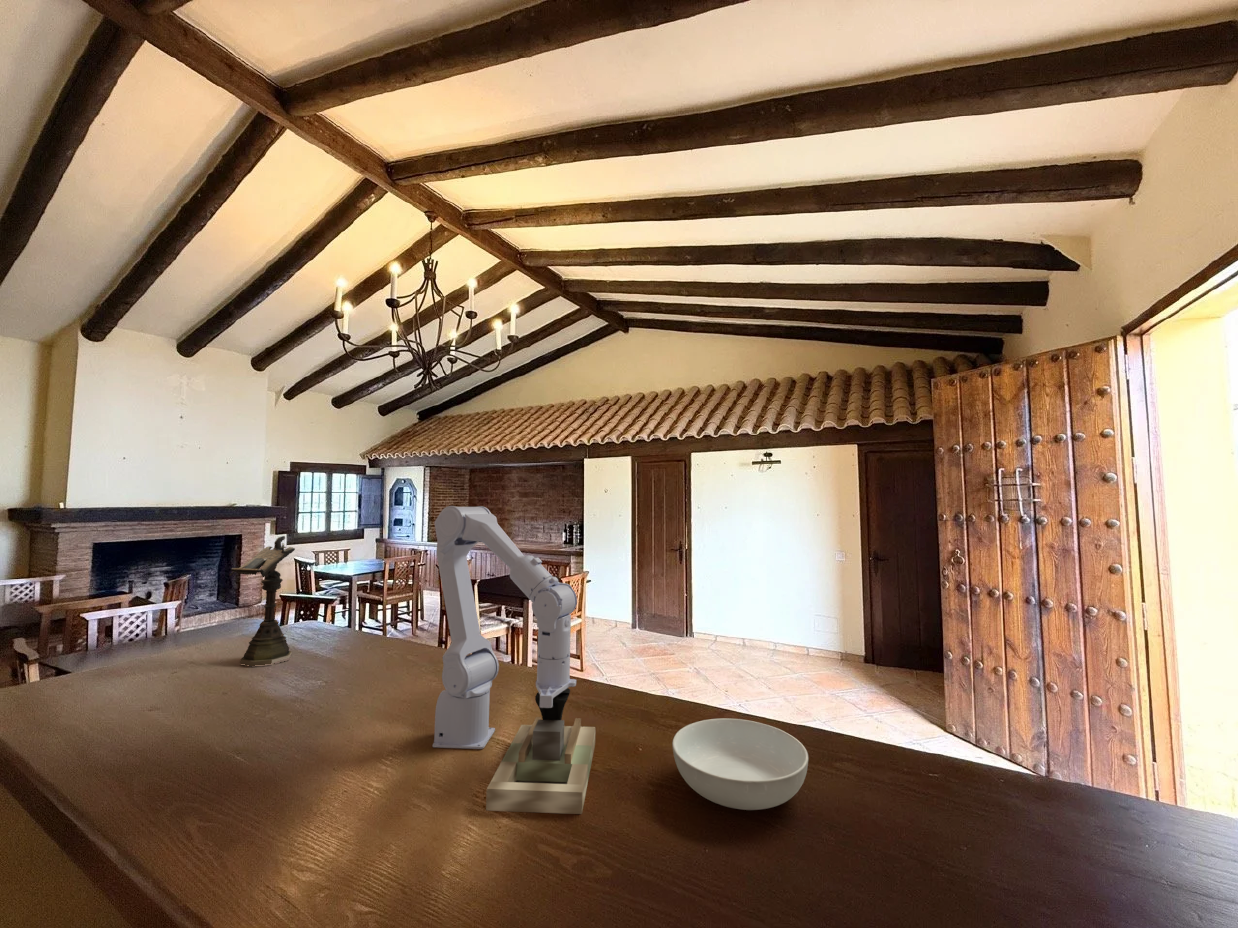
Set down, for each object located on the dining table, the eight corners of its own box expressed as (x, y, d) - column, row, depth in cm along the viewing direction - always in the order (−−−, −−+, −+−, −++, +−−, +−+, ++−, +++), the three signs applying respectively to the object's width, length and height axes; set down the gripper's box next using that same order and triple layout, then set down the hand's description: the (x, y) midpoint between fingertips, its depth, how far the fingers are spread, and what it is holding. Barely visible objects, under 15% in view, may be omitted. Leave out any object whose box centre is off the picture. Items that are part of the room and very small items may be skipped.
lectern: (245, 675, 131) (255, 537, 133) (211, 669, 135) (221, 536, 138) (305, 657, 146) (312, 534, 149) (272, 652, 150) (280, 533, 153)
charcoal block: (532, 759, 83) (533, 730, 84) (537, 746, 88) (538, 719, 88) (559, 760, 83) (560, 731, 84) (563, 747, 88) (564, 720, 88)
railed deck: (486, 810, 74) (487, 777, 75) (521, 741, 96) (521, 716, 97) (581, 813, 74) (582, 781, 74) (595, 743, 96) (595, 718, 96)
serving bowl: (668, 756, 91) (668, 716, 92) (786, 759, 91) (785, 719, 91) (677, 829, 71) (677, 777, 71) (830, 834, 70) (829, 782, 71)
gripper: (571, 668, 83) (569, 755, 82) (581, 644, 97) (579, 718, 96) (527, 667, 83) (525, 754, 82) (544, 643, 98) (542, 717, 97)
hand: (552, 734), depth 89 cm, fingers closed
